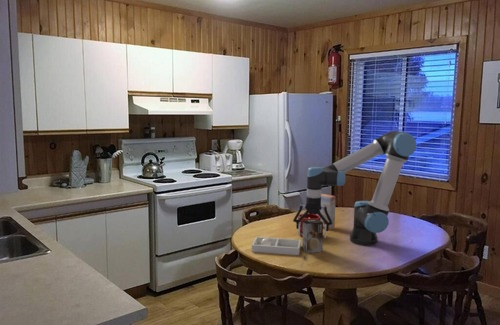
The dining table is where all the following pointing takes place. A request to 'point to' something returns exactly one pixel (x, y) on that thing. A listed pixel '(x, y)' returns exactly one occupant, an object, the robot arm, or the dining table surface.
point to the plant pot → (311, 216)
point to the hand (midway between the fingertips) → (311, 235)
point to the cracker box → (328, 209)
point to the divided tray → (277, 246)
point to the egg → (265, 242)
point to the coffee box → (312, 236)
